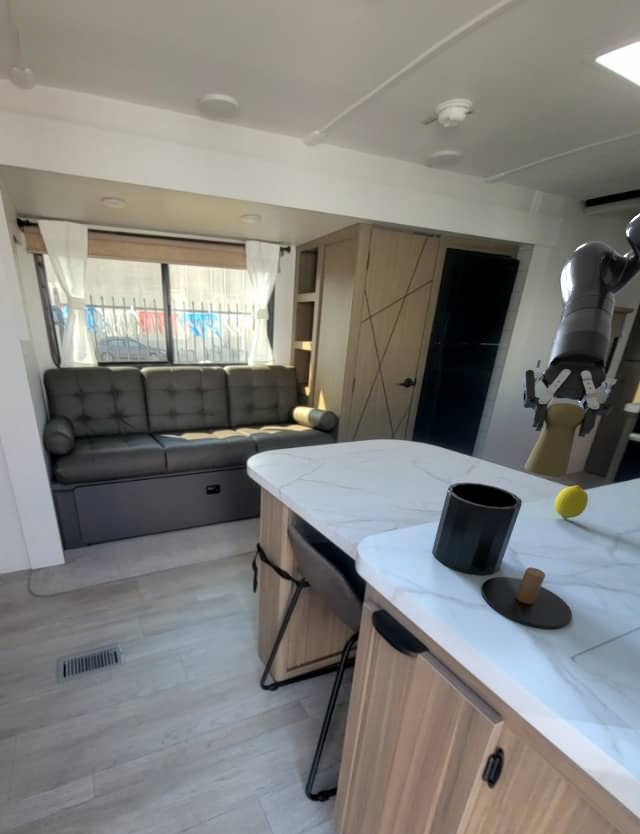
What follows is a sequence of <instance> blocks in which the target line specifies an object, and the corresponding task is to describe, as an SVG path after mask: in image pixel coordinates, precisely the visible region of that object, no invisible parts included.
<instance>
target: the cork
mask: <svg viewBox="0 0 640 834" xmlns="http://www.w3.org/2000/svg"><path fill="white" fill-rule="evenodd" d="M584 418H585V410H584V409H583V408H582V407H580V406H579V405H577V404H575V403H566V402H564V403H563V402H561V403H558V402H557V403H553V404H550V405H548V407H547V411H546V415H545V419H544V423H545V424H544V425H543V427H542V429H541V431H540V434H539V436H538V437H537V440H536V442H535V444H534V447H533V448H532V450H531V453H530V455H529V457H528V459H527V460H526V462H525V465H523V467H524V469H525V470H526V471H528V472H530V473H533V474H536V475H540V476H545V477H553V478H562V477H565V476H567V473H568V469H569V468H568V467H569V463H570V459H571V454H572V448H573V445H574V439H575V435H576V429H577V428H578V427H580V425H581V423H582V422H583V420H584Z"/></svg>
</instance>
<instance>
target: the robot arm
mask: <svg viewBox="0 0 640 834" xmlns="http://www.w3.org/2000/svg"><path fill="white" fill-rule="evenodd" d="M625 239H626V242H627V243H628V245H629V247H630V248H631V249H630V250H629V251H628V252H627V253H625V254H624V255H621V254H620V253H619V252H617V250H615V248H612V247H611V246H610V245H609V244H607V243H605V242H603V241H601V240H592V241H588V242H586V243H583V244H581V245H580V246H578V247H577V248H576V249H575V250H573V251H572V252H571V254H570V255H569V256H568V258H567V259H566V260H565V262H564V263H563V266H562V268H561V271H560V277H559V288H560V289H559V291H560V296H561V303H562V312H561V317H560V321H559V325H558V327H557V330H556V332H555V333H554V334H555V335H554V339H553V341H552V344H551V351H550V355H549V359H548V363H547V367H546V369H545V370H543V371H542V372H535V371H534V369H527V370H526V371H525V372H524V376H523V379H522V382H521V385H522V387H521V388H522V405H523V408H525V409H532V410H533V411H534V412H533V417H532V421H531V427H532V428H534V431H535V432H541V431H542V429H543V427H544V425H545V424H544V423H545V420H544V419H545V415H546V411H547V409H548V407H549V406H550V405H551V403H552V402H553V401H554V399H568V400H572V401H577V403H578V406H580V407H582V408H583V409H584V410H585V418H584V420H583V422H582V423H581V424H580V425H579V429H578V435H577V436H578V437H580V438H585V436H586V435H590V433H591V432H592V430H593V429H594V428H595V426H596V420H597V416H600V417H607V416H608V415H609V414H610V412H611V410H612V409H613V408H614V406H615V405H616V404H617V401H618V400H619V398H620V396H621V395H622V393H623V390H624V388H625V387H626V385H627V383H628V380H629V379H628V377H627V376H620V377H618V378H612V377H608V376H607V374H606V372H605V366H606V360H607V356H608V350H609V346H610V340H611V335H612V319H613V315H614V309H615V304H616V298H615V296H616V295H617V294H619V293H620V292H621V291H622V290H623V289H625V288H626V287H627V286H628V285H629V284H630V283H631V282H632V281H633V280H634V279H635V278H636V277H637V276H638V275H639V274H640V213H638V214H637V215H635V216H634V217H633V219H632V220H631V221H629V223H627V225H626V227H625ZM540 381H541V382H542V384H543V385H544V386H545V388H546V391H544V393H543V394H542V395H541V396H540V397H537V396H536V387H537V386H538V384H539V382H540ZM601 386H603V387H604V392H605V394H606V395H607V396H606V398H605V400H604V402H601V403H599V399H598V397H597V395H598V393H597V389H599V388H601Z"/></svg>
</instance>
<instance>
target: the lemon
mask: <svg viewBox="0 0 640 834" xmlns="http://www.w3.org/2000/svg"><path fill="white" fill-rule="evenodd" d="M588 502H589V497H588V494H587V492H586V490H585V489H583V488H582V487H581V486H580V485H577V484H576V485H572V486H571V485H570V486H567V487H564V488H563V489H562V490H561V491H560V492H558V494H557V496H556V498H555V500H554V509H555V512H556V513H557V514H558V515H559V516H561V518H562V519H563V520H568V519H571V518H577V517H578V516H580V515H581V514H583V512H584V511H585V510H586V508H587V506H588Z"/></svg>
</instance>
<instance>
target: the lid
mask: <svg viewBox="0 0 640 834" xmlns="http://www.w3.org/2000/svg"><path fill="white" fill-rule="evenodd" d="M545 577H546V573H545V572H544V571H543V570H541V569H539V568H536V567H527V568H526V569H525V571H524V574H523V577H522V579H520V578H517V577H508V576H497V577H496V576H495V577H492V578H488V579H486V580H485V581H484V582H483V583H482V585H481V589H480V593H481V596H482V599H483V600H484V601H485V603H486V604H487V605H488V606H489V607H490V608H492V609H493V610H494V611H495V612H496V613H498V614H499V615H501V616H503V617H505V618H507V619H509V620H511V621H513V622H516V623H518V624H520V625H524V626H527V627H531V628H536V629H542V630H558V629H562V628H565V627H566V626H567V625H569V624H570V622H571V620H572V617H573V613H572V610H571V607H570V606H569V605H568V603H567V602H566V601H565V600H564V599H562V598H561V597H560V596H558V595H557V594H556V593H554V592H553V591H551V590H549V589H547V588H546V587H544V586H542V584H543V582H544V580H545Z"/></svg>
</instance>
